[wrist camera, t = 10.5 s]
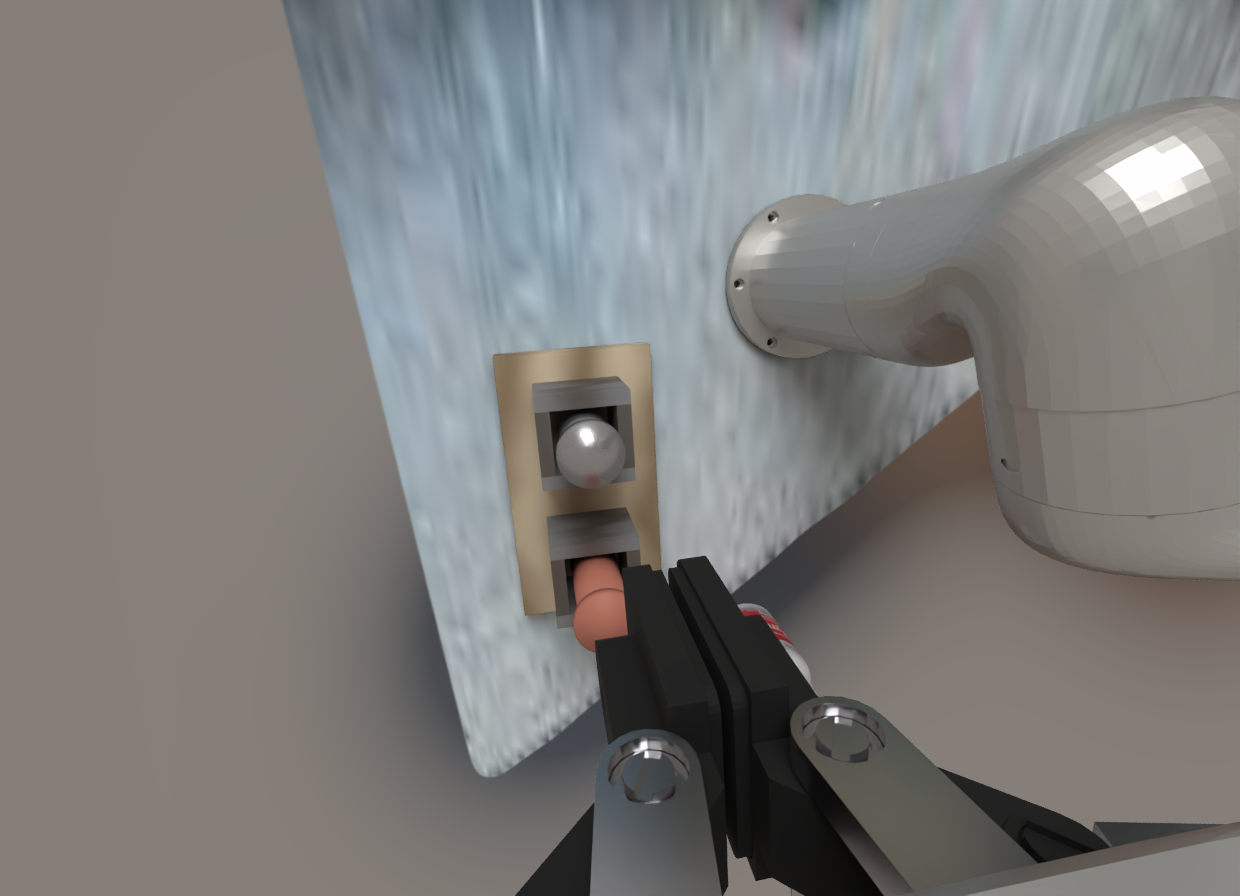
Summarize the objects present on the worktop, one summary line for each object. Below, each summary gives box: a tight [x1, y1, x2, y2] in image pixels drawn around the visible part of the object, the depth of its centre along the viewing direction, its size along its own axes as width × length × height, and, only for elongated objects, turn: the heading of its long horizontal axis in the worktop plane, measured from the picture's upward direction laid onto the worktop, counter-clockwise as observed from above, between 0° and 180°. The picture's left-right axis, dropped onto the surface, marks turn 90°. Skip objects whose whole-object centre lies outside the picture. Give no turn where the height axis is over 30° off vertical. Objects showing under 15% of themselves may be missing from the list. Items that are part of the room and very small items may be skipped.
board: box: [493, 342, 661, 628], centre depth 46 cm, size 12×22×8 cm, turn 4°
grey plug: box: [556, 407, 626, 489], centre depth 41 cm, size 4×4×9 cm
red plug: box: [571, 553, 628, 652], centre depth 42 cm, size 4×4×9 cm
